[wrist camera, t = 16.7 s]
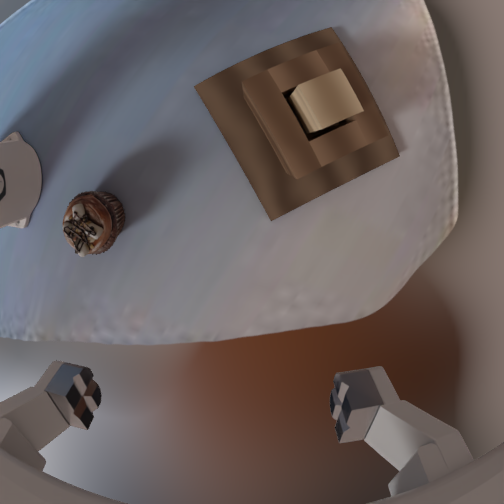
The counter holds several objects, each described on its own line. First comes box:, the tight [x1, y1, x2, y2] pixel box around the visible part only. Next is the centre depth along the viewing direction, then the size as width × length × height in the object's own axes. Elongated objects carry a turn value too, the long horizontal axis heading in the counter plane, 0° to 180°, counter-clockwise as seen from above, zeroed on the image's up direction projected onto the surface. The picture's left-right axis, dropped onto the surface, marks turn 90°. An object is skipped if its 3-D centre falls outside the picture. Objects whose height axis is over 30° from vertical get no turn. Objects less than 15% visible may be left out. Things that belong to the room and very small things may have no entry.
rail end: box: [287, 68, 364, 134], centre depth 26 cm, size 4×4×11 cm
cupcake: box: [63, 191, 125, 257], centre depth 36 cm, size 10×10×10 cm
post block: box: [194, 27, 400, 221], centre depth 31 cm, size 22×22×10 cm
